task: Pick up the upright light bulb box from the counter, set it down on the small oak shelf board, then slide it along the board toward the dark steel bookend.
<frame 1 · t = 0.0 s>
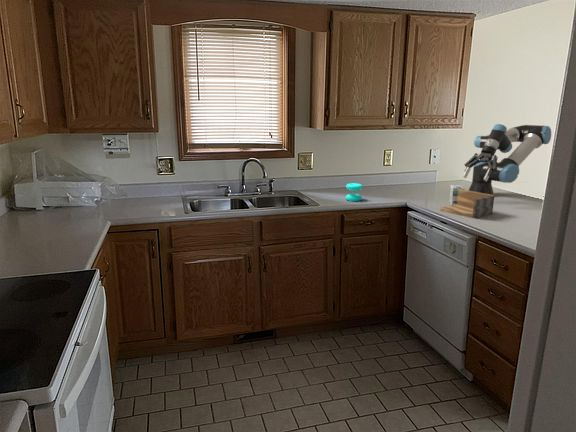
hand: (474, 178, 261), 15 cm above the worktop, tool tilted 35°, fingers open, 13 cm apart
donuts: (353, 200, 278), on the worktop
light bulb box: (455, 204, 265), on the worktop
shelf: (465, 212, 245), on the worktop
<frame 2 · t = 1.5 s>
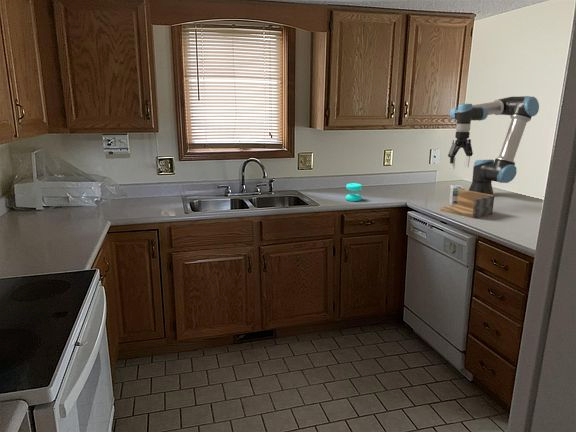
hand: (459, 168, 259), 22 cm above the worktop, tool pointing down, fingers open, 13 cm apart
nothing on the worktop moved.
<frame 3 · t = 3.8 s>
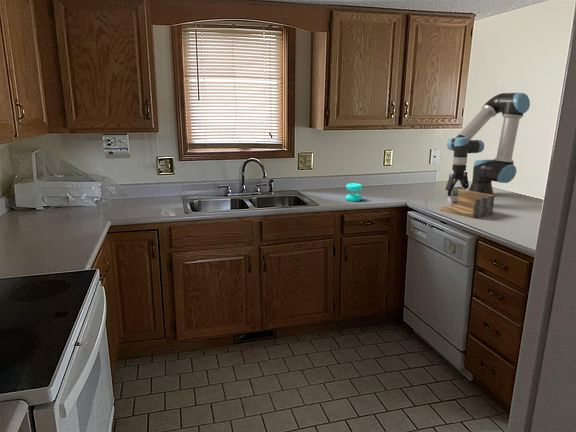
hand: (456, 200, 264), 2 cm above the worktop, tool pointing down, fingers closed on light bulb box, 12 cm apart
light bulb box: (455, 204, 265), on the worktop, touching gripper
everything else where it was.
when the fingers open (5 cm above the worktop, at t = 10.1 s): light bulb box drops 1 cm, resting on shelf.
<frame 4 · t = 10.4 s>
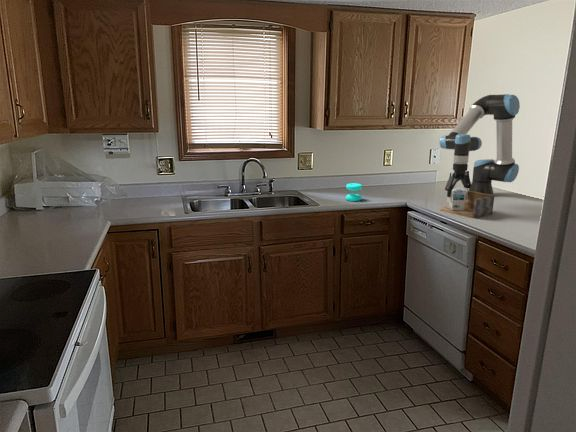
hand: (457, 201, 246), 6 cm above the worktop, tool pointing down, fingers open, 13 cm apart
light bulb box: (456, 208, 248), point 1 cm above the worktop, touching shelf
everything else where it was.
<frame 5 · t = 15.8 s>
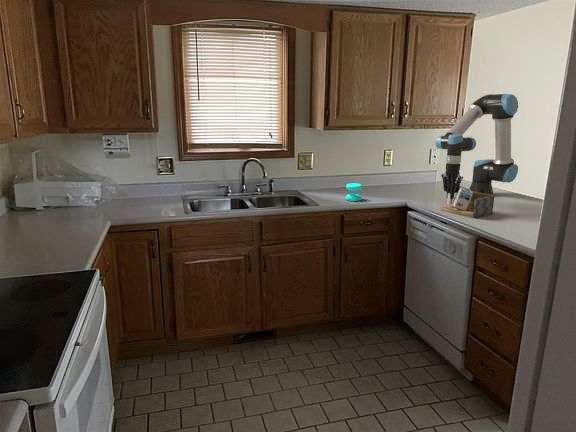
hand: (449, 204, 251), 3 cm above the worktop, tool pointing down, fingers closed
light bulb box: (458, 207, 247), point 2 cm above the worktop
everything else where it was.
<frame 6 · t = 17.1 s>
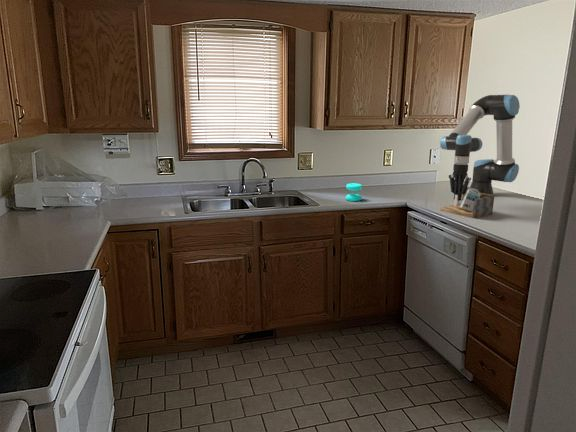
hand: (456, 205, 246), 3 cm above the worktop, tool pointing down, fingers closed
light bulb box: (465, 208, 244), point 2 cm above the worktop, touching gripper, hand, shelf
everything else where it was.
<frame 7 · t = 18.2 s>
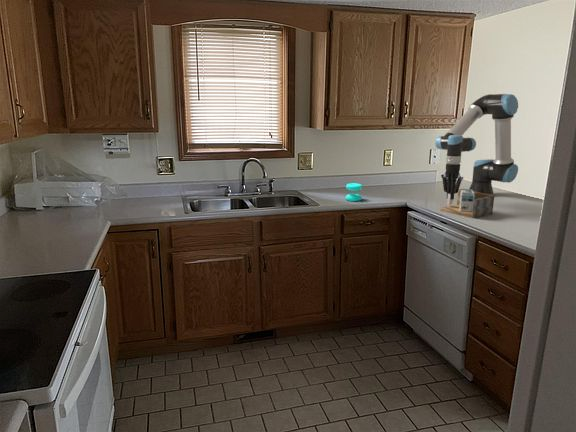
hand: (449, 204, 251), 3 cm above the worktop, tool pointing down, fingers closed
light bulb box: (465, 210, 244), point 1 cm above the worktop, touching shelf
everything else where it was.
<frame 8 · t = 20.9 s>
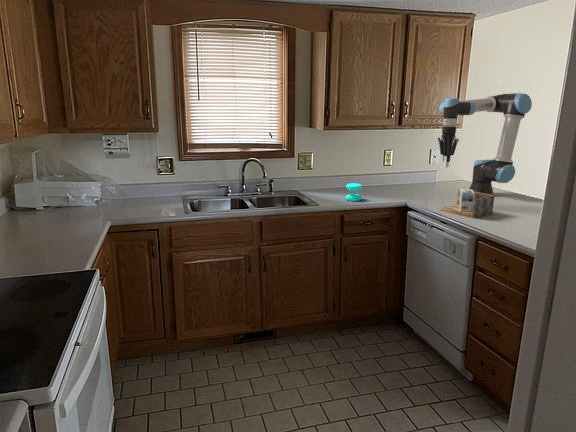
hand: (445, 167, 259), 22 cm above the worktop, tool pointing down, fingers closed
nothing on the worktop moved.
at the end: light bulb box inside the target area (3.7 cm from its centre), point 1.3 cm above the worktop; light bulb box tilted 0°; the gripper is holding nothing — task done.
